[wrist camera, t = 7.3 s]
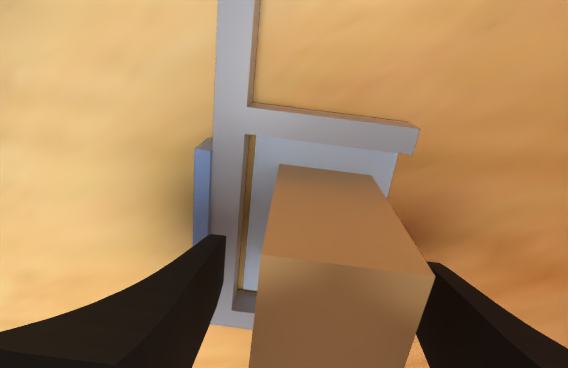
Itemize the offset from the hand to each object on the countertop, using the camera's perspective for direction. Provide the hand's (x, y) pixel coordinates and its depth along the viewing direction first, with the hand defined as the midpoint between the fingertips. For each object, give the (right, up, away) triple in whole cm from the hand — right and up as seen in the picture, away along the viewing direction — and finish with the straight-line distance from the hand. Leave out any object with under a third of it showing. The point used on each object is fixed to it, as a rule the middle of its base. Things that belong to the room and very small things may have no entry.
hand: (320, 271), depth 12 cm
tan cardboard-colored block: (0, +2, +3) cm, 3 cm away
